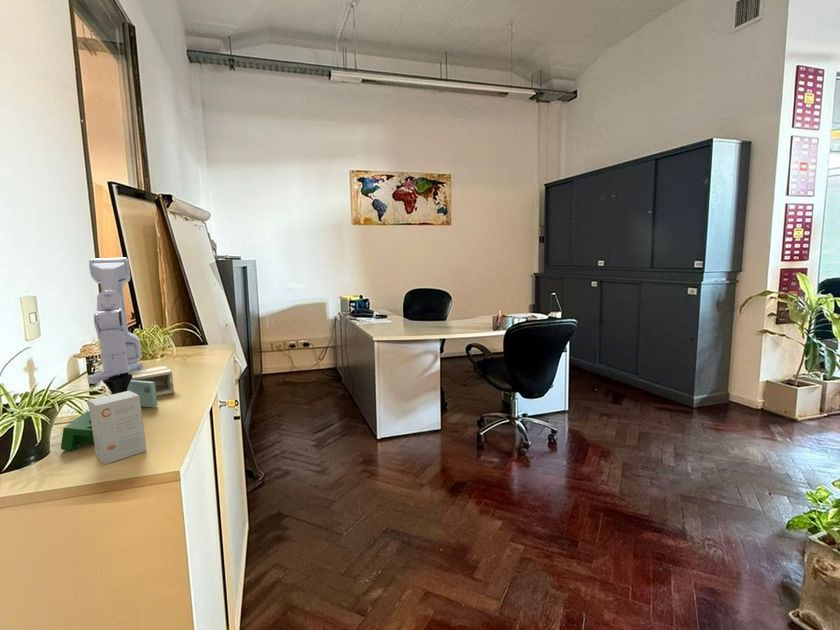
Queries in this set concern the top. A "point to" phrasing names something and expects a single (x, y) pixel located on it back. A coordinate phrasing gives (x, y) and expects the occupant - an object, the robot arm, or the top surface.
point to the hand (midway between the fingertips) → (120, 401)
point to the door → (144, 392)
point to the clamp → (78, 433)
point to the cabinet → (156, 378)
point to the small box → (117, 426)
